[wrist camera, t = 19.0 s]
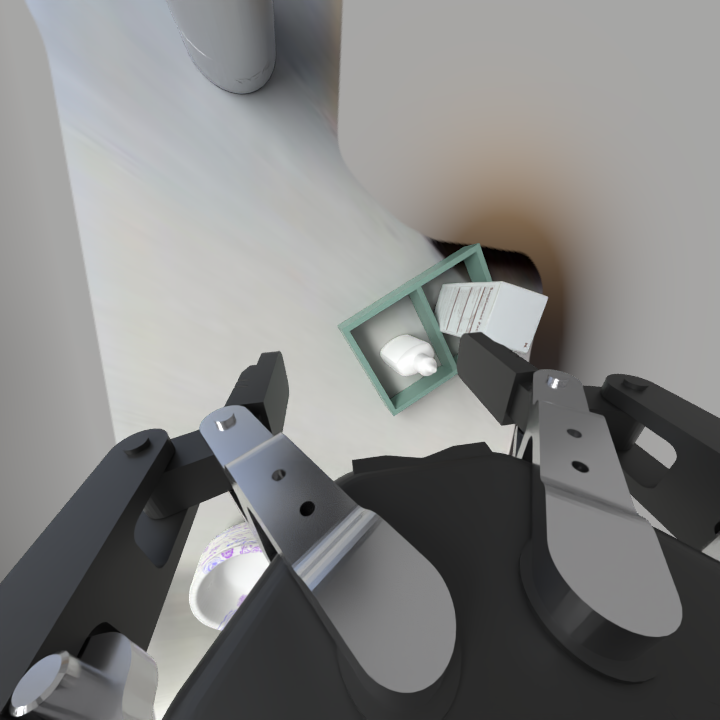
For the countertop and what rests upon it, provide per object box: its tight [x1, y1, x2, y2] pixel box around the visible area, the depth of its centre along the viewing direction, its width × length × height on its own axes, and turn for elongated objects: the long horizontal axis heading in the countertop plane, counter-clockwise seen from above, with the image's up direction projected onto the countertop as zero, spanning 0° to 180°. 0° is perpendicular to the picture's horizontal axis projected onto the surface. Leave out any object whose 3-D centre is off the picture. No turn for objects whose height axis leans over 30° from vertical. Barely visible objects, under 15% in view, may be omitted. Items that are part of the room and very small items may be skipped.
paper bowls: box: [189, 522, 269, 630], centre depth 41 cm, size 15×15×8 cm
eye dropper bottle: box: [380, 334, 437, 376], centre depth 36 cm, size 4×6×12 cm
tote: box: [338, 243, 492, 416], centre depth 41 cm, size 16×23×4 cm
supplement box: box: [434, 281, 548, 354], centre depth 37 cm, size 7×7×13 cm
